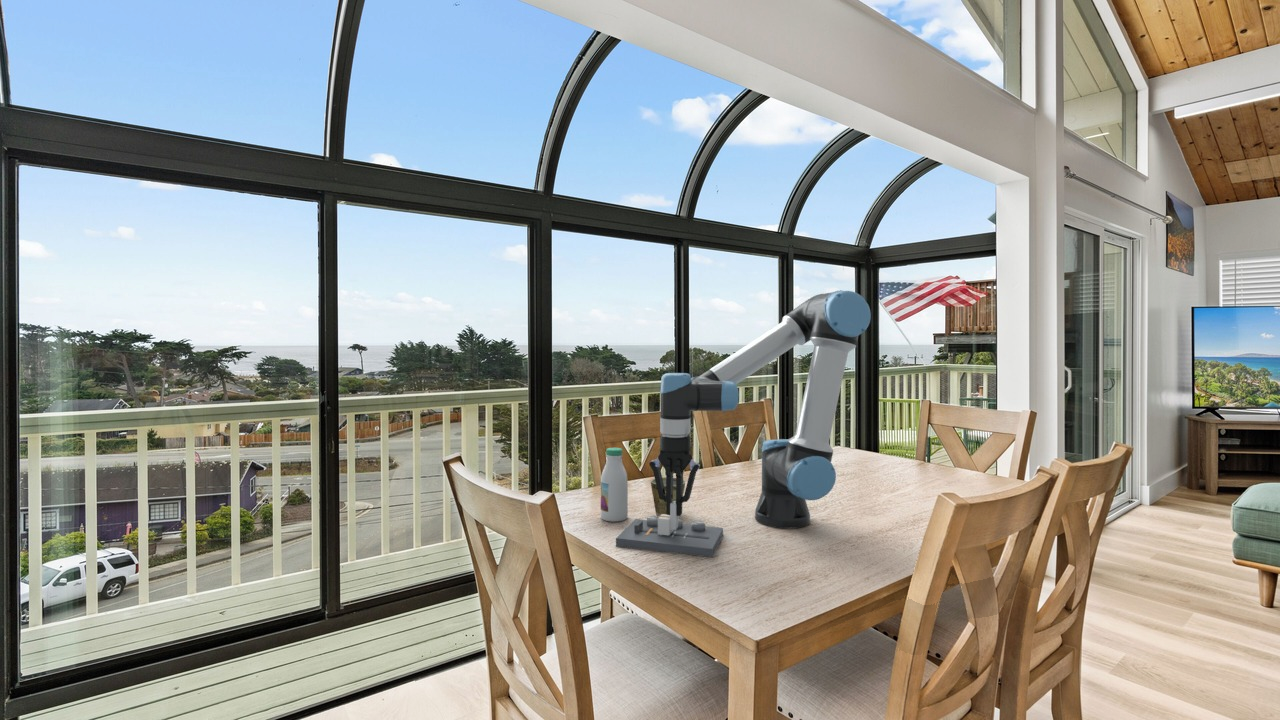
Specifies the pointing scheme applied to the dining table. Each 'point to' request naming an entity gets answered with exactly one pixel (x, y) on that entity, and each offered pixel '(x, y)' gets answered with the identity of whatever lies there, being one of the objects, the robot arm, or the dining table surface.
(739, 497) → the dining table surface
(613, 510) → the milk bottle
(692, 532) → the console
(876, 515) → the dining table surface
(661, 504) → the ceramic cup
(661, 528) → the fader cap
